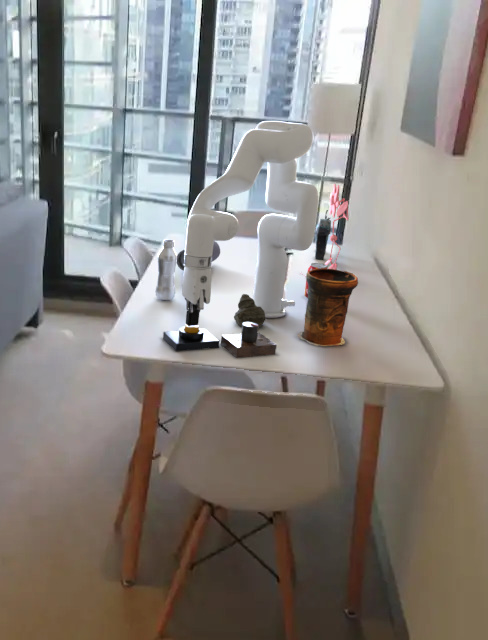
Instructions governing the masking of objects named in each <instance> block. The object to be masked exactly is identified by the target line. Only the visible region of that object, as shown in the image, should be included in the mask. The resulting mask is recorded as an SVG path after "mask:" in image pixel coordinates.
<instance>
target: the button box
mask: <svg viewBox="0 0 488 640" xmlns="http://www.w3.org/2000/svg"><path fill="white" fill-rule="evenodd" d="M162 333H163V334H162V339H163V340H164V341H165V342H166V343H167V344H168V345H169V347H171V348H172V349H173V350H174V351H175V352H183V351H184V352H185V351H195V350H209V349H210V350H211V349H219V347H220V340H219V339H218V338H217V337H215V335H213V334H212V333H211V332H209V331H208V330H207V329H206V328H201V327H199V332H198V333H188V332H185V325H184V326H181V327H179V329H178V330H167V331H163V332H162Z"/></svg>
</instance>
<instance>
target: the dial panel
mask: <svg viewBox="0 0 488 640" xmlns="http://www.w3.org/2000/svg"><path fill="white" fill-rule="evenodd" d="M220 346H221V347H222V348H223V349H224V350H226V351H227V352H228V353H229V354H231V355H232V356H233V357H235V358H237V359H238V358H250V357H251V358H253V357H265V356H276V351H277V343H275V342H274V341H272V340H271V339H269V338H268V337H266V336H265V335H264V334H262V333H261V332H258V335H257V341H256V342H245V341H242V340H241V333H234V334H232V333H231V334H222V335H221V337H220Z"/></svg>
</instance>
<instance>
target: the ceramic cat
mask: <svg viewBox="0 0 488 640" xmlns="http://www.w3.org/2000/svg"><path fill="white" fill-rule="evenodd" d="M328 213H329V209H326V211H325V216H324V218H320V219H319V221H318V222H316V225H315V233H314V238H313V241H315V254H314V258H315V259H314V260H318V261H324V259H325V255H326V251H327V244H328V241H329V238H330V237H329V236H330V235H331V231H332V228H331V227H332V220H331V217H328V216H327V214H328Z"/></svg>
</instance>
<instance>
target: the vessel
mask: <svg viewBox="0 0 488 640" xmlns="http://www.w3.org/2000/svg"><path fill="white" fill-rule="evenodd" d="M327 268H328V267H327ZM327 268H321V269H313V270H311V271H308V270H307V272H306V275H305V281H306V280H307V283H308V299H307V302H306V305H305V306H306V307H305V313H304V324H303V331H301V332H300V333H298V334H297V335H296V337H298V338H299V339H300V340H301V341H304V342H306V343H309V345H313V346H315V347H318V346H321V347H333V346H344V345H345V343H346V341H345V339H344V338H343V331H344V326H345V324H346V319H347V314H348V310H349V301H350V298H351V295H352V293H353V291H354V289H356V288H357V287H358V284H359V279H358V276H357V275H356V274H354V273H353V272H351V271H346V270H344V271H343V270H339V269H337V270H335V269H329V268H328V269H327Z"/></svg>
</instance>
